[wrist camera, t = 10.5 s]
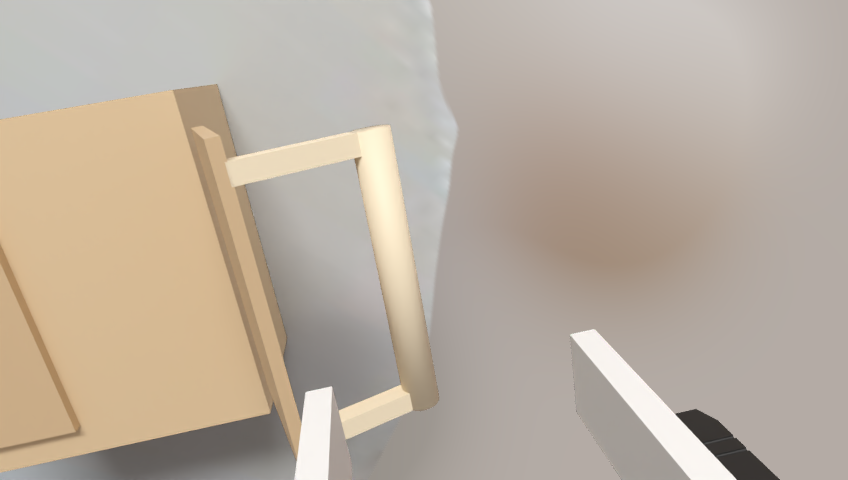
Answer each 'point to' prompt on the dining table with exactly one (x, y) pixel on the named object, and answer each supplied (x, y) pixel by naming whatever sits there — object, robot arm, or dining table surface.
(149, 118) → the carton
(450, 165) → the dining table surface
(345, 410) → the flap
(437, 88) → the dining table surface
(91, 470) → the dining table surface
